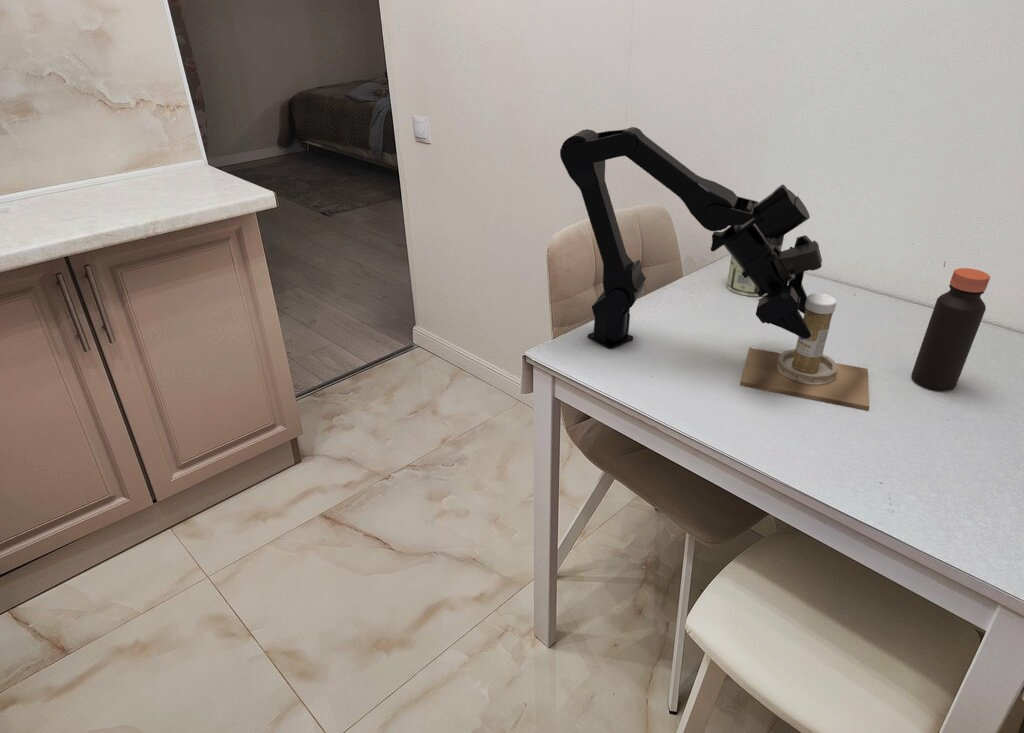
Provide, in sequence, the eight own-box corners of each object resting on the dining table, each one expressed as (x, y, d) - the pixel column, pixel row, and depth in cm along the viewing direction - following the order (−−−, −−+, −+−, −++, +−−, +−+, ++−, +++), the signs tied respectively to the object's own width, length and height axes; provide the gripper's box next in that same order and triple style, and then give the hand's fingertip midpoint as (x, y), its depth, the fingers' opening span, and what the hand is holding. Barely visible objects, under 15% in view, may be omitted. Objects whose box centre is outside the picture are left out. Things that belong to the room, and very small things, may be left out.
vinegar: (903, 380, 115) (939, 272, 105) (921, 367, 119) (958, 262, 109) (944, 396, 110) (986, 285, 100) (962, 383, 114) (1004, 274, 104)
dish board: (739, 385, 114) (742, 372, 113) (748, 351, 124) (751, 339, 123) (868, 410, 107) (872, 397, 106) (866, 372, 117) (870, 360, 116)
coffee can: (770, 280, 153) (782, 221, 146) (776, 298, 145) (789, 236, 138) (724, 277, 155) (733, 218, 148) (727, 295, 147) (737, 233, 139)
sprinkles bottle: (785, 365, 117) (801, 295, 111) (804, 359, 119) (821, 290, 112) (805, 377, 114) (823, 305, 107) (825, 371, 115) (843, 300, 109)
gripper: (794, 244, 99) (856, 324, 100) (801, 209, 113) (855, 279, 115) (730, 285, 105) (789, 359, 107) (745, 247, 120) (797, 313, 122)
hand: (810, 325), depth 113 cm, fingers open, 9 cm apart
